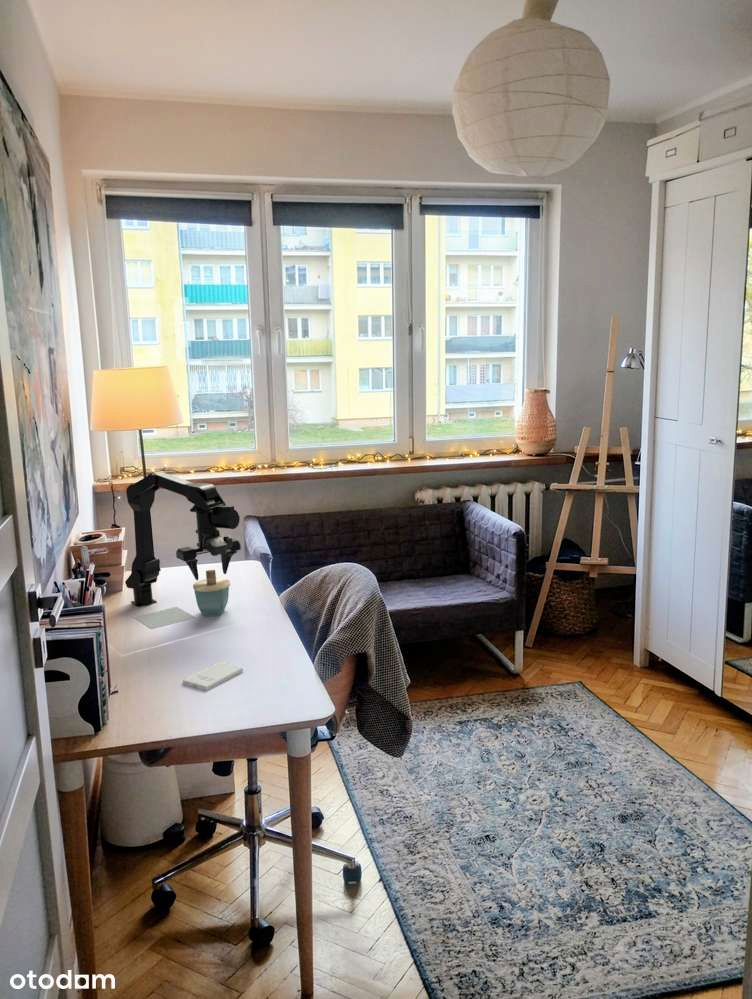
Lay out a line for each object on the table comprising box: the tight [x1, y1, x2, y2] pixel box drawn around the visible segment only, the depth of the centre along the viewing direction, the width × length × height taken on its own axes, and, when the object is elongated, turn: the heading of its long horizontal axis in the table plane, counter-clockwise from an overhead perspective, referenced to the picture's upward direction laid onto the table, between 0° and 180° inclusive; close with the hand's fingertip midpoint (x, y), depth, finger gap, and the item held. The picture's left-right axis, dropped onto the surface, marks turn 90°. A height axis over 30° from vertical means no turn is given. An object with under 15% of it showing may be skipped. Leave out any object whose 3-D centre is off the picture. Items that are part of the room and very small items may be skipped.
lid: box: [192, 569, 231, 592], centre depth 235 cm, size 11×11×5 cm
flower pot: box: [194, 586, 230, 617], centre depth 236 cm, size 9×9×9 cm
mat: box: [133, 606, 197, 630], centre depth 235 cm, size 14×14×1 cm
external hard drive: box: [182, 661, 244, 692], centre depth 190 cm, size 2×8×12 cm
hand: (211, 576), depth 235 cm, fingers open, 9 cm apart
